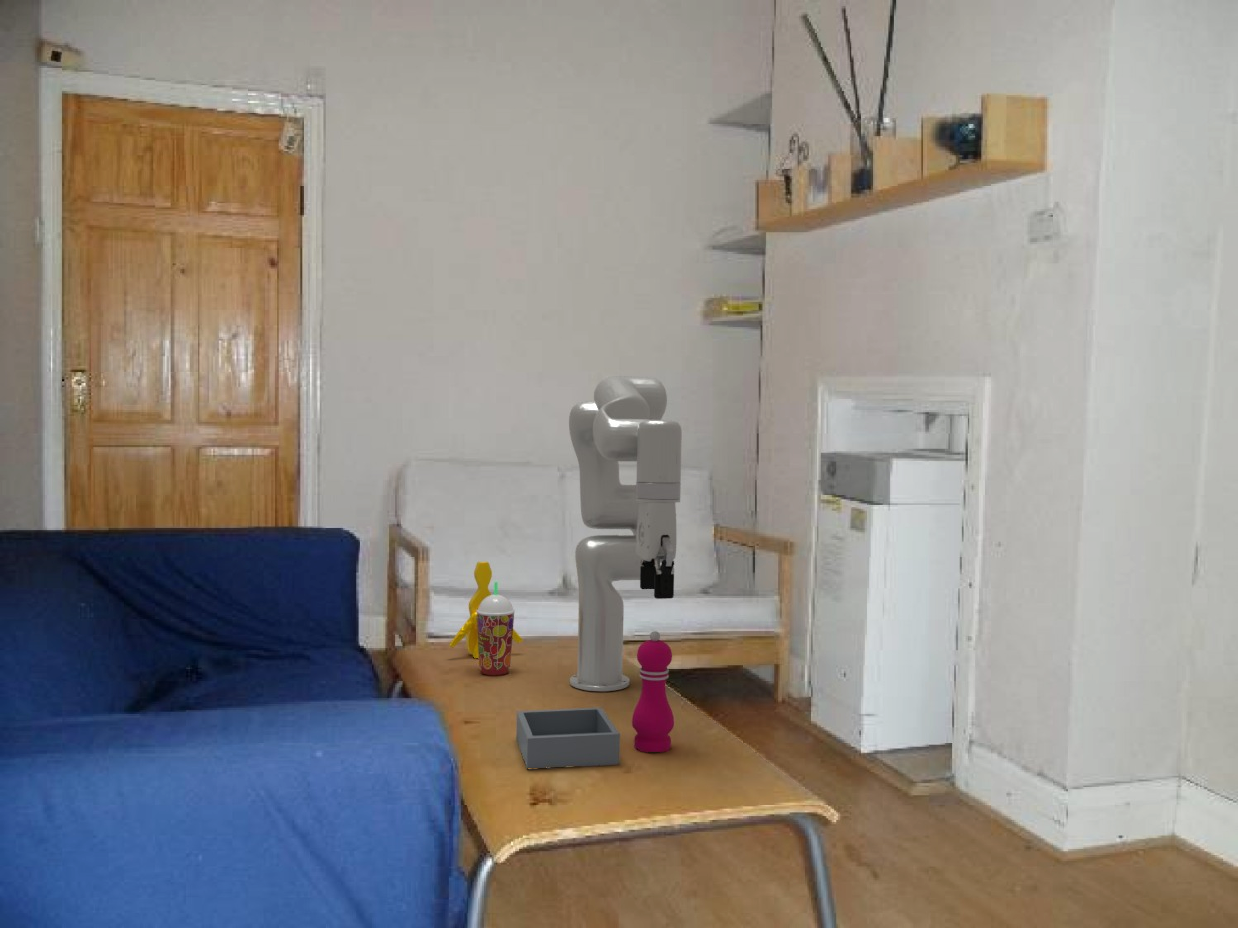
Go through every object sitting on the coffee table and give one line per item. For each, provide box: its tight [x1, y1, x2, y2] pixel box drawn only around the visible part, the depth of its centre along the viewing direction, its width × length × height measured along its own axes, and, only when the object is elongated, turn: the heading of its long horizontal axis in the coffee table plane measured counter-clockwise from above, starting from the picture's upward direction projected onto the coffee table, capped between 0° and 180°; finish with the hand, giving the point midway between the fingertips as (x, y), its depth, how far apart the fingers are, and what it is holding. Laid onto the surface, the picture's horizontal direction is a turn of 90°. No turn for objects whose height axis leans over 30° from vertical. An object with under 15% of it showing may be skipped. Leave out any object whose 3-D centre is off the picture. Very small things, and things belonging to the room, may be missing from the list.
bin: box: [515, 707, 621, 769], centre depth 164 cm, size 15×15×5 cm
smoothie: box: [476, 581, 516, 676], centre depth 215 cm, size 8×8×20 cm
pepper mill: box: [631, 630, 675, 753], centre depth 167 cm, size 7×7×20 cm
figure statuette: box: [448, 561, 524, 659], centre depth 231 cm, size 18×8×22 cm, turn 113°
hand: (656, 593), depth 166 cm, fingers open, 9 cm apart
